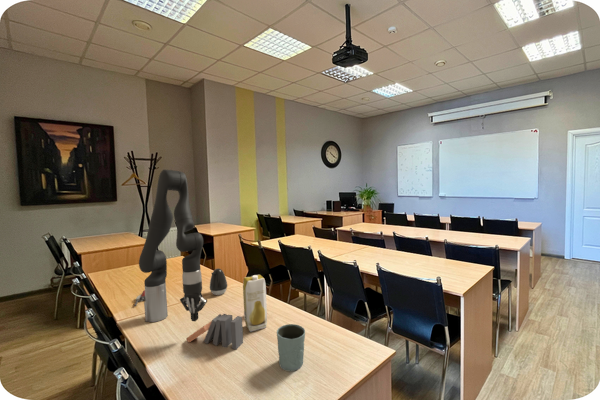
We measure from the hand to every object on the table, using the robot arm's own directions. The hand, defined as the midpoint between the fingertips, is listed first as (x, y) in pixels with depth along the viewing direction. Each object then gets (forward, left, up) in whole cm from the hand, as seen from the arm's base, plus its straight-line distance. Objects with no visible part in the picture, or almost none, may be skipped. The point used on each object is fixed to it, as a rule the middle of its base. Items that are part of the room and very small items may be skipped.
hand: (194, 320), depth 118 cm
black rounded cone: (+5, +48, -8) cm, 49 cm away
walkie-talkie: (-37, +50, -8) cm, 63 cm away
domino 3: (+10, -6, -7) cm, 14 cm away
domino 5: (+18, -10, -8) cm, 22 cm away
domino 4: (+14, -8, -8) cm, 18 cm away
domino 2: (+6, -3, -7) cm, 10 cm away
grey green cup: (+38, -26, -8) cm, 46 cm away
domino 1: (-1, -1, -7) cm, 7 cm away
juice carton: (+26, +3, -8) cm, 27 cm away
